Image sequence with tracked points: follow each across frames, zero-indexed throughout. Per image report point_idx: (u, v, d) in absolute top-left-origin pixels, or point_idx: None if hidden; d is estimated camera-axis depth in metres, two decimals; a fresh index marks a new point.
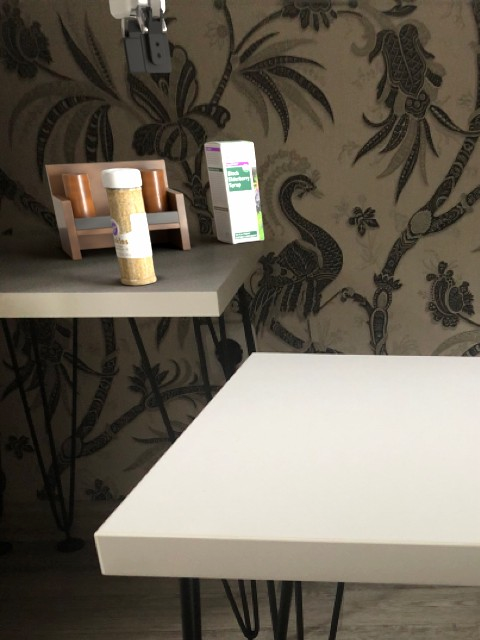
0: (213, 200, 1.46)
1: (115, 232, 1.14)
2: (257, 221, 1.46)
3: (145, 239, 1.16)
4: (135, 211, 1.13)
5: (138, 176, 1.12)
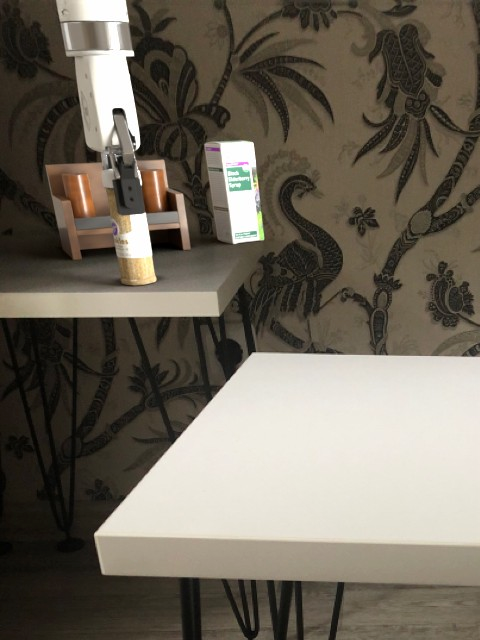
0: (213, 200, 1.46)
1: (115, 232, 1.14)
2: (257, 221, 1.46)
3: (145, 239, 1.16)
4: None
5: None
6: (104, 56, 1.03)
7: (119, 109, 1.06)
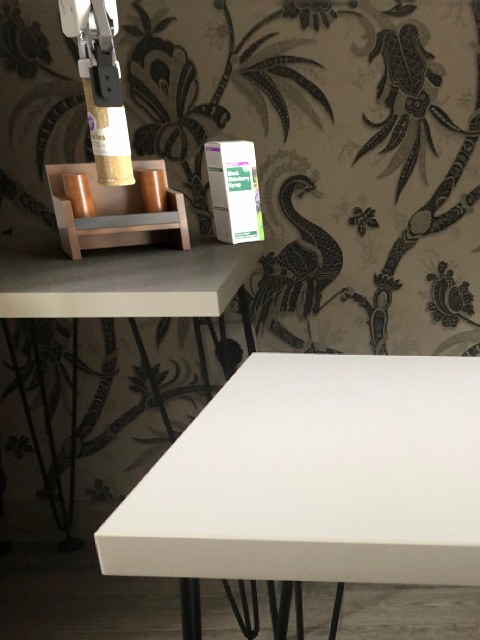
0: (213, 200, 1.46)
1: (92, 127, 1.09)
2: (257, 221, 1.46)
3: (124, 136, 1.10)
4: None
5: (117, 67, 1.07)
6: None
7: None
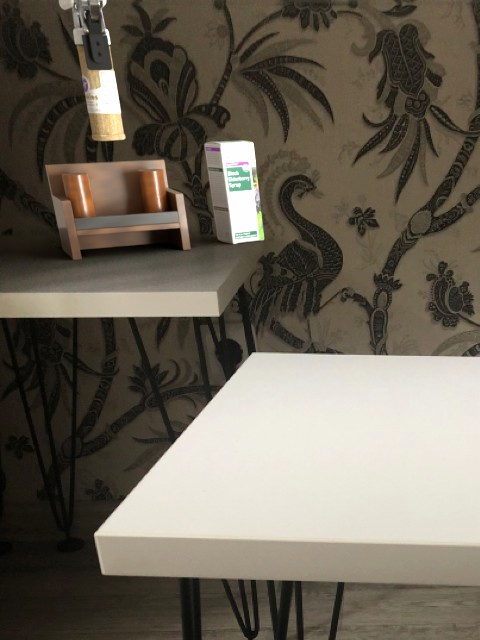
0: (213, 200, 1.46)
1: (86, 88, 1.24)
2: (257, 221, 1.46)
3: (114, 96, 1.26)
4: None
5: (106, 34, 1.22)
6: None
7: None
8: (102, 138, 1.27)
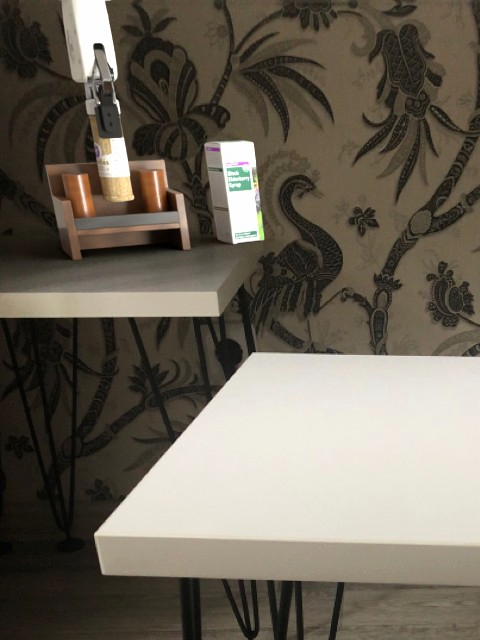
0: (213, 200, 1.46)
1: (97, 154, 1.33)
2: (257, 221, 1.46)
3: (124, 161, 1.34)
4: None
5: (117, 105, 1.31)
6: None
7: (99, 44, 1.25)
8: (113, 199, 1.36)
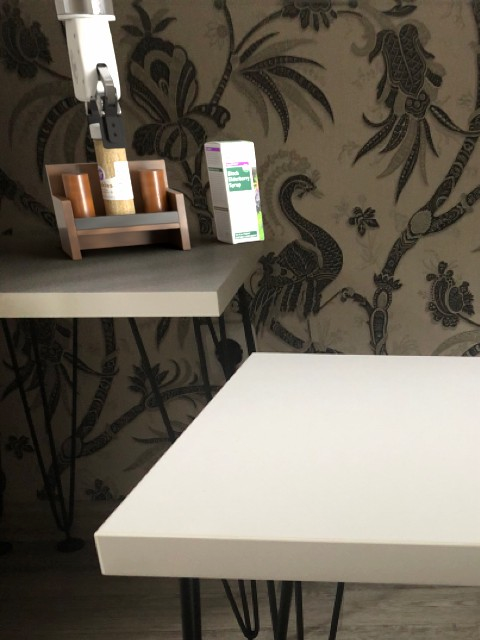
0: (213, 200, 1.46)
1: (101, 177, 1.35)
2: (257, 221, 1.46)
3: (127, 184, 1.36)
4: (118, 159, 1.34)
5: None
6: (89, 19, 1.23)
7: None
8: None
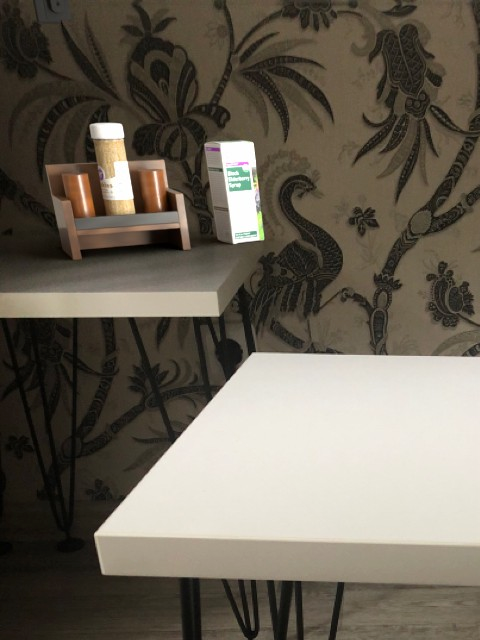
0: (213, 200, 1.46)
1: (101, 177, 1.35)
2: (257, 221, 1.46)
3: (127, 184, 1.36)
4: (118, 159, 1.34)
5: (121, 129, 1.33)
6: None
7: None
8: None
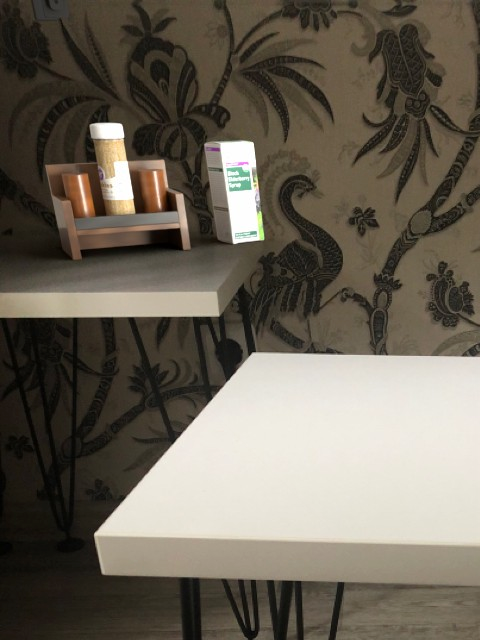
0: (213, 200, 1.46)
1: (101, 177, 1.35)
2: (257, 221, 1.46)
3: (127, 184, 1.36)
4: (118, 159, 1.34)
5: (121, 129, 1.33)
6: None
7: None
8: None
